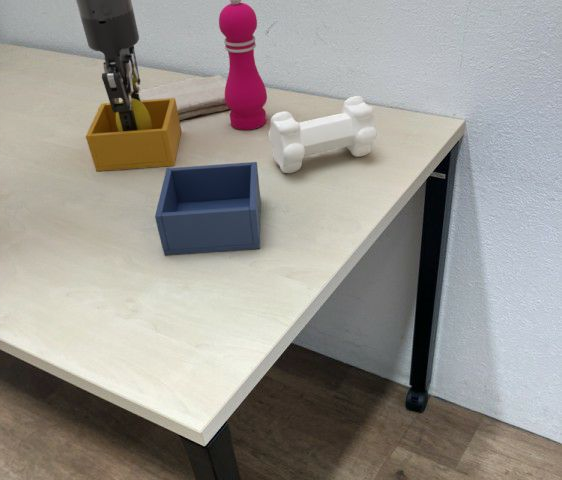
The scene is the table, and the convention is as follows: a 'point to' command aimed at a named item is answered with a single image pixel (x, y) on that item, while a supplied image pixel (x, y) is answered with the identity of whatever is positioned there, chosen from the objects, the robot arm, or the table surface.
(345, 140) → the white bone
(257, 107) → the pepper mill
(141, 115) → the lemon
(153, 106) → the ochre bin
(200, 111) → the washcloth
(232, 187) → the blue bin
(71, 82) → the table surface
